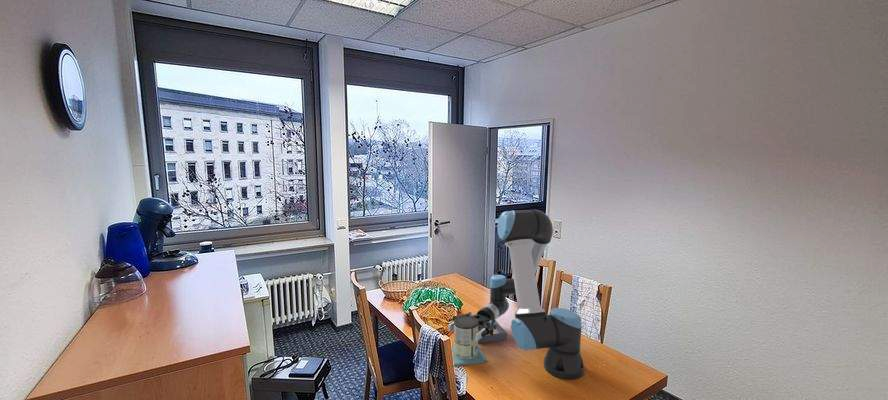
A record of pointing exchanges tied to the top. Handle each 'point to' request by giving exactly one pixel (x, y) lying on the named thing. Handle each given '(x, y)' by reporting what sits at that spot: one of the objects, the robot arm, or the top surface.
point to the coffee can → (465, 337)
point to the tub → (496, 337)
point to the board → (478, 359)
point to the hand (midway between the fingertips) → (462, 332)
